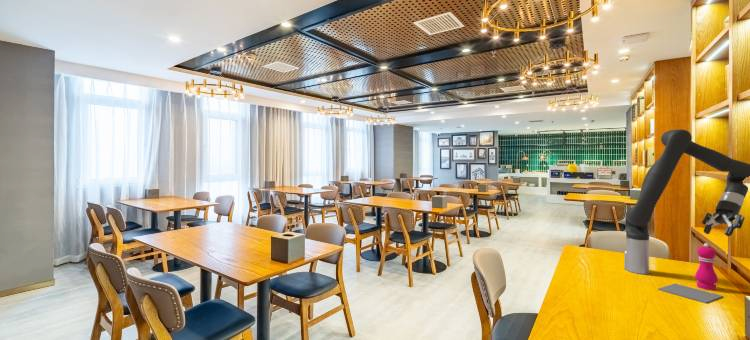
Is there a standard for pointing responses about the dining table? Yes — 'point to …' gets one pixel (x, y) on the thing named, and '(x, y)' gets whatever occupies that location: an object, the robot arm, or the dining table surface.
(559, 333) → the dining table surface
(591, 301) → the dining table surface
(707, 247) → the pepper mill
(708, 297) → the charcoal mat
